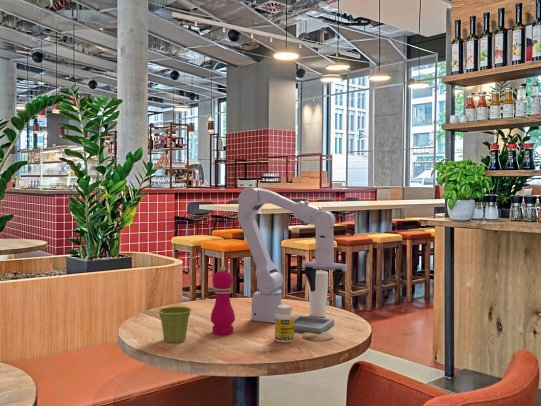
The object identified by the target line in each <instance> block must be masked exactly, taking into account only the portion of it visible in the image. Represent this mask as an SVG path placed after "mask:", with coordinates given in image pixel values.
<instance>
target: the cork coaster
mask: <svg viewBox="0 0 541 406" xmlns="http://www.w3.org/2000/svg"><path fill="white" fill-rule="evenodd" d="M302 338H303V339H306V340H308V341H314V342H323V341H324V342H325V341H330V340H332V339H334V334H333V333H331V332H328V331H323V332H322V333H314V332H305V333H304V332H302Z"/></svg>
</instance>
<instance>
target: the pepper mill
mask: <svg viewBox="0 0 541 406" xmlns="http://www.w3.org/2000/svg"><path fill="white" fill-rule="evenodd" d="M219 270H220V271H217V272H216V273H214V275H213V277H212V283H213V285H214V286H215V287H213V288H214V293H215V301H214V302H215V303H214V306H213V308H212V311H211V313H210V322H211V323H212V324H213V325H212V330H211V332H212V334H214V335H217V336H228V335H232V334H233V333H234V326H233V323H234V322H235V321H236V315H235V311H234V309H233V306H232V304H231V297H230V295H231V292H232V287H231V286H232V284H233V281H234V278H233V275H232V274H231V272H229V271H226V270H227V268H226V266H225V265H222V266H219Z"/></svg>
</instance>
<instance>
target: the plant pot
mask: <svg viewBox="0 0 541 406" xmlns="http://www.w3.org/2000/svg"><path fill="white" fill-rule="evenodd" d="M157 313H158V315H159V318H160V322H161V328H162V336H163V341H164V342H166V343H171V342H172V343H174V344H176V343H181V342H184V341H185V340H186V339H187V333H188V326H189V325H188V323H189V317H190V315H191V313H192V308H191V307H187V306H166V307H162V308H160V309H158V310H157Z"/></svg>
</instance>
